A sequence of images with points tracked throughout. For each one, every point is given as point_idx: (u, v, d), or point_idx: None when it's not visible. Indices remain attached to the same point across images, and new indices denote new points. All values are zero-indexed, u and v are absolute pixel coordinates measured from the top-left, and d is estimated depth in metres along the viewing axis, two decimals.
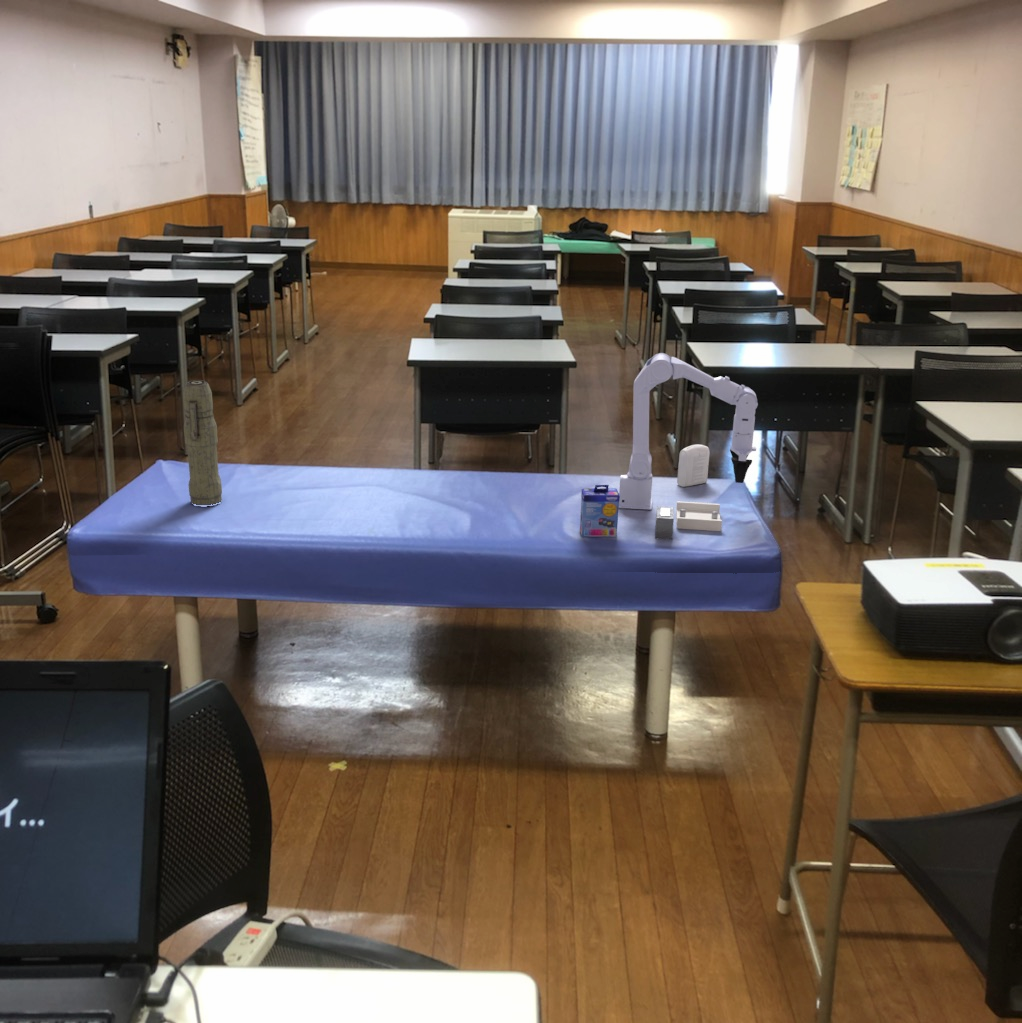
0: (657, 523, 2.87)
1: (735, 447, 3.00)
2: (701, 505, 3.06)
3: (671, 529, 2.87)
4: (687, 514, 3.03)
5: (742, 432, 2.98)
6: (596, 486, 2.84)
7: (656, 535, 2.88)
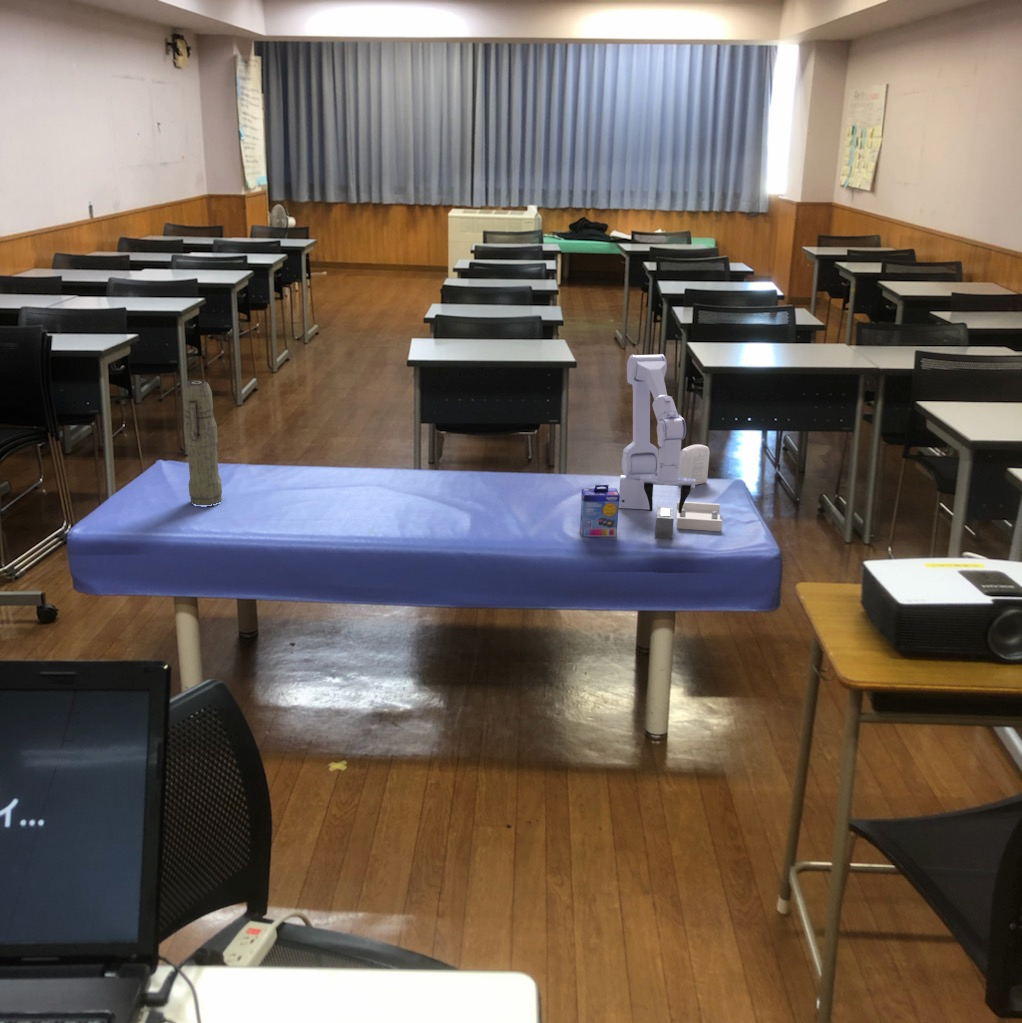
0: (657, 523, 2.87)
1: None
2: (701, 505, 3.06)
3: (671, 529, 2.87)
4: (687, 514, 3.03)
5: (658, 460, 2.85)
6: (596, 486, 2.84)
7: (656, 535, 2.88)
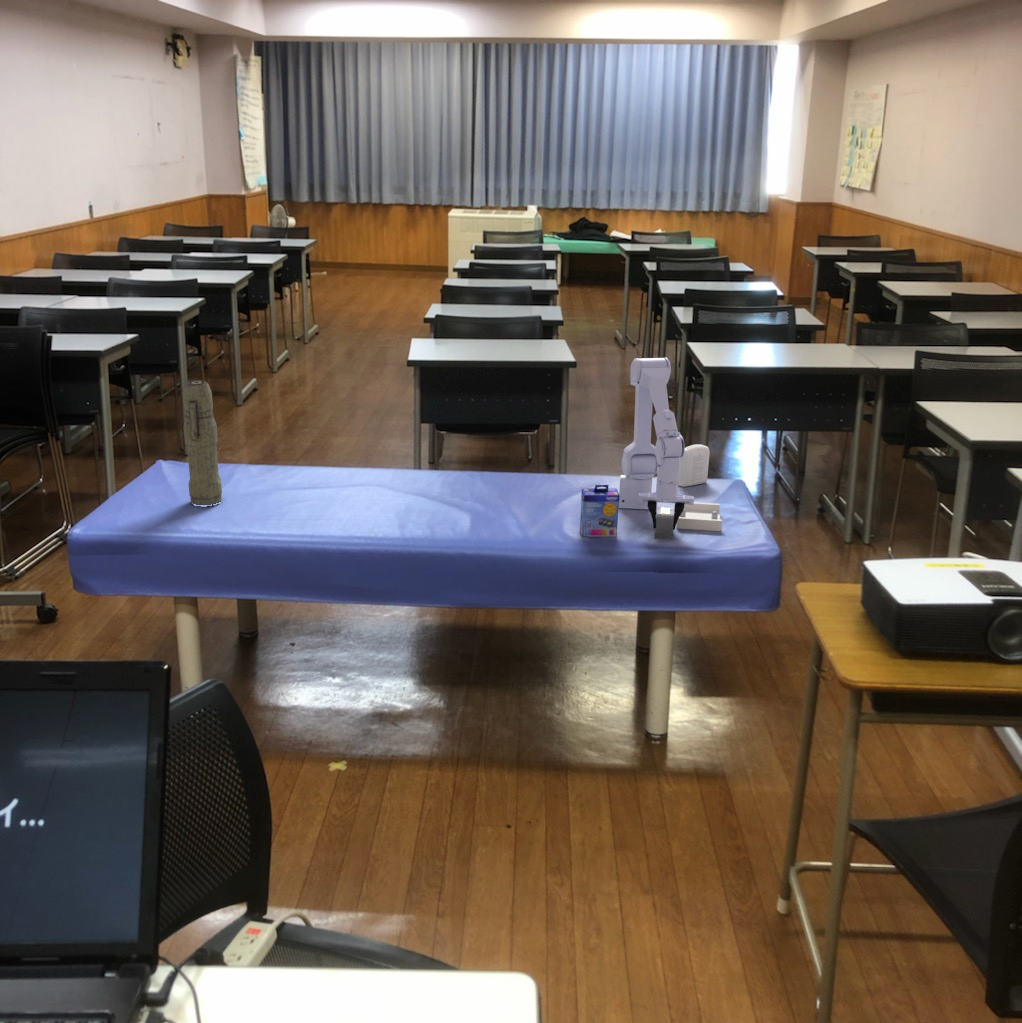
0: (657, 523, 2.86)
1: None
2: (701, 505, 3.06)
3: (671, 529, 2.87)
4: (687, 514, 3.03)
5: (657, 478, 2.86)
6: (596, 486, 2.84)
7: (656, 535, 2.88)
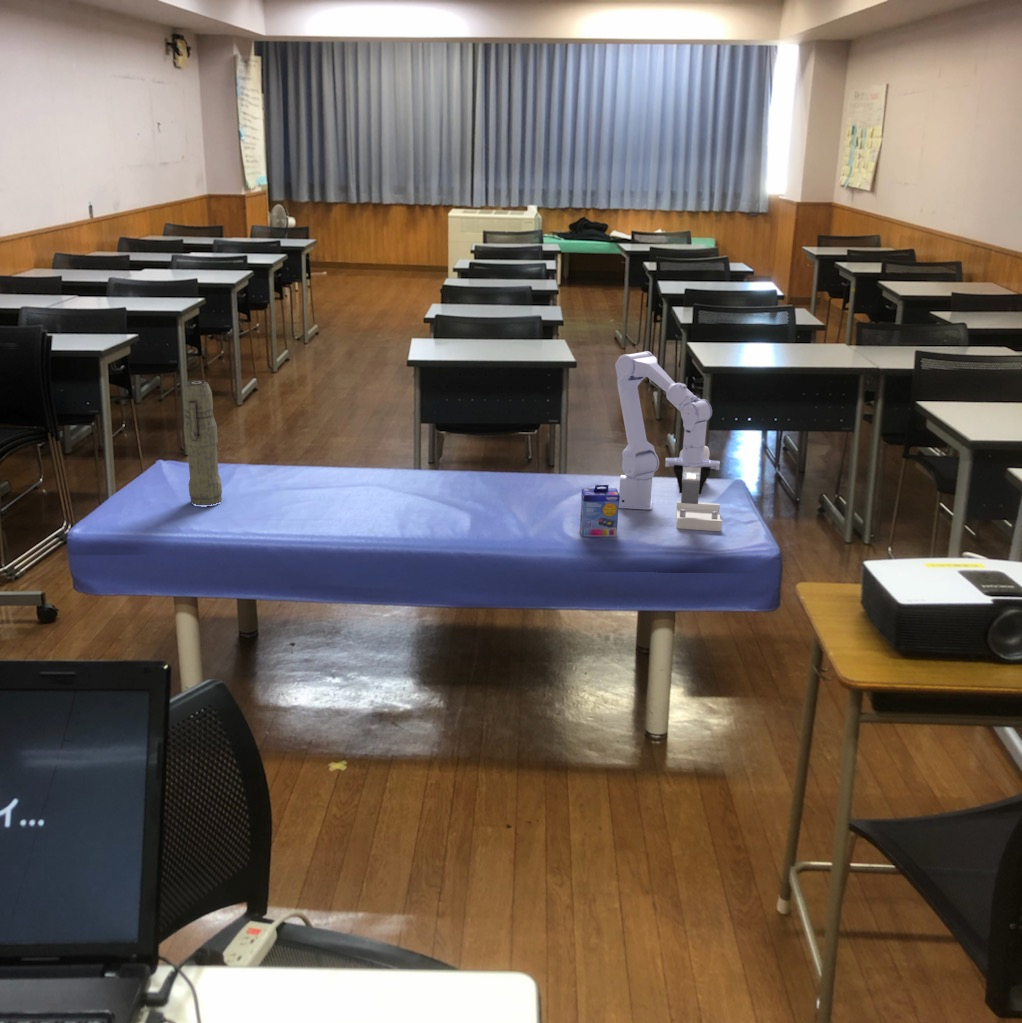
0: (683, 487, 2.90)
1: None
2: (701, 505, 3.06)
3: (697, 493, 2.90)
4: (687, 514, 3.03)
5: (685, 444, 2.89)
6: (596, 486, 2.84)
7: (682, 499, 2.91)
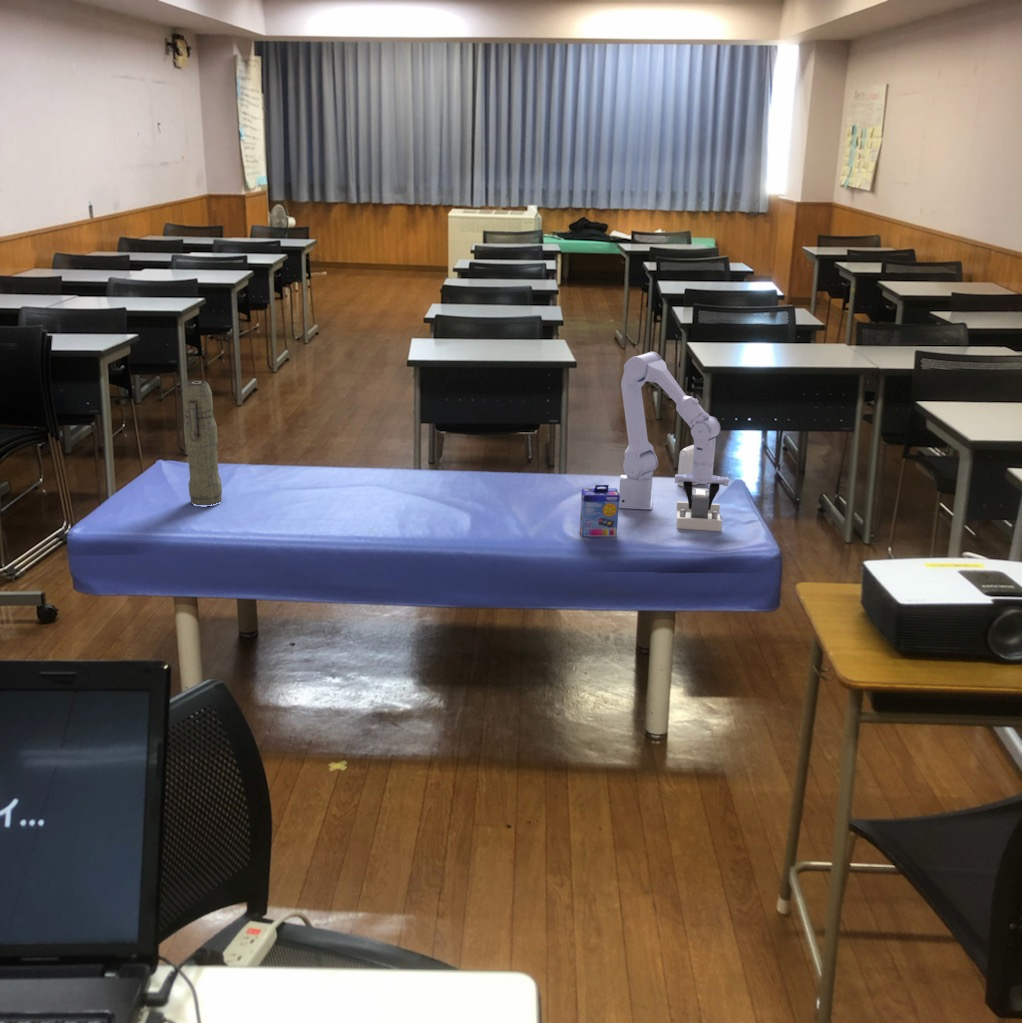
0: (693, 503, 2.95)
1: None
2: None
3: (707, 509, 2.95)
4: (687, 514, 3.03)
5: (697, 461, 2.93)
6: (596, 486, 2.84)
7: (692, 515, 2.96)
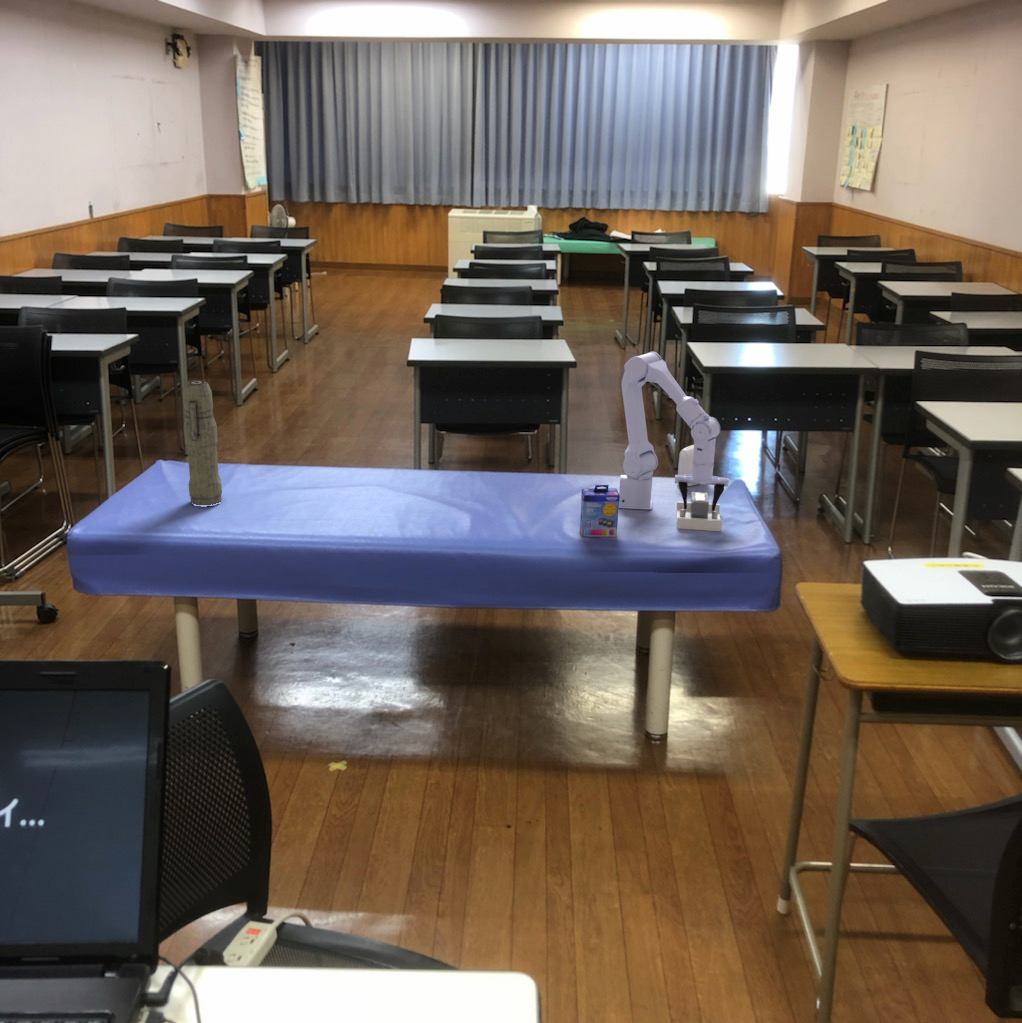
0: (692, 507, 2.95)
1: None
2: None
3: (706, 513, 2.95)
4: (687, 514, 3.03)
5: (697, 462, 2.93)
6: (596, 486, 2.84)
7: None
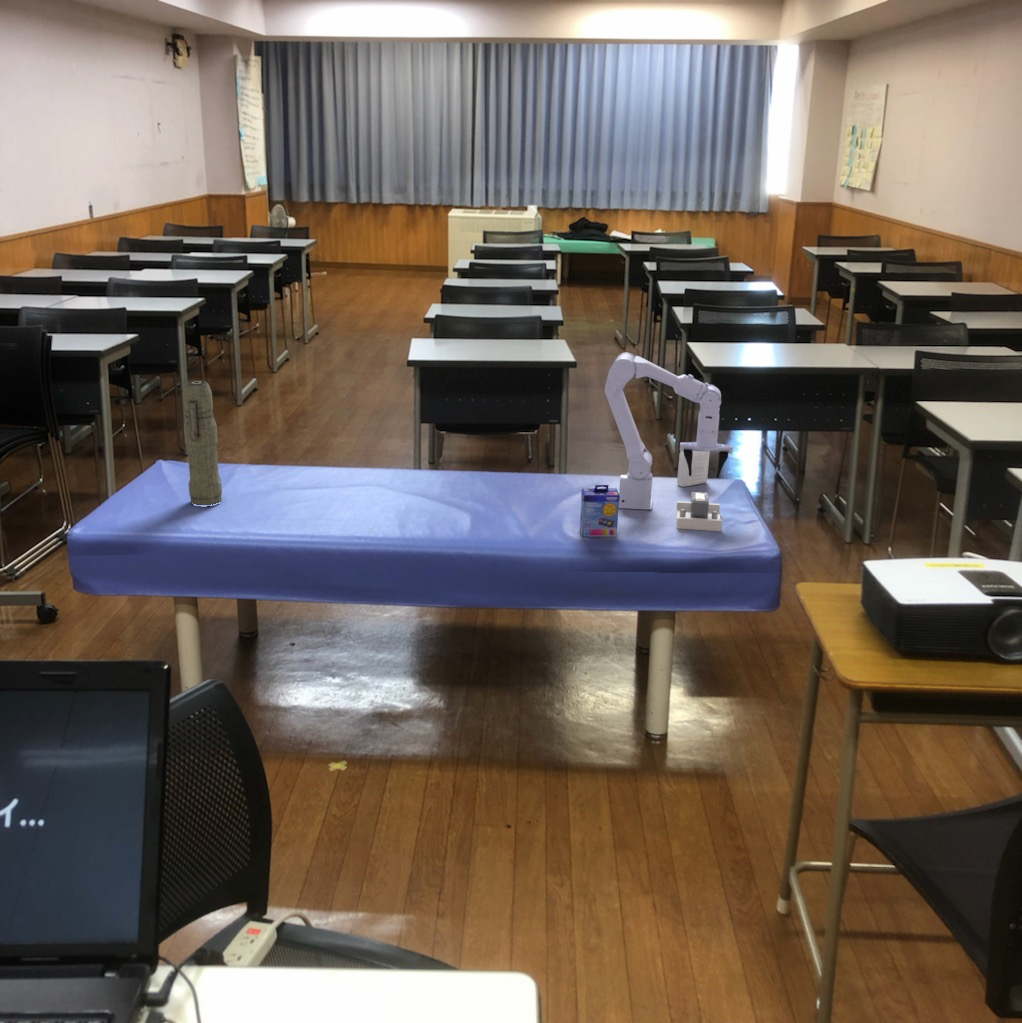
0: (692, 507, 2.95)
1: None
2: None
3: (706, 513, 2.95)
4: (687, 514, 3.03)
5: (706, 430, 2.98)
6: (596, 486, 2.84)
7: None
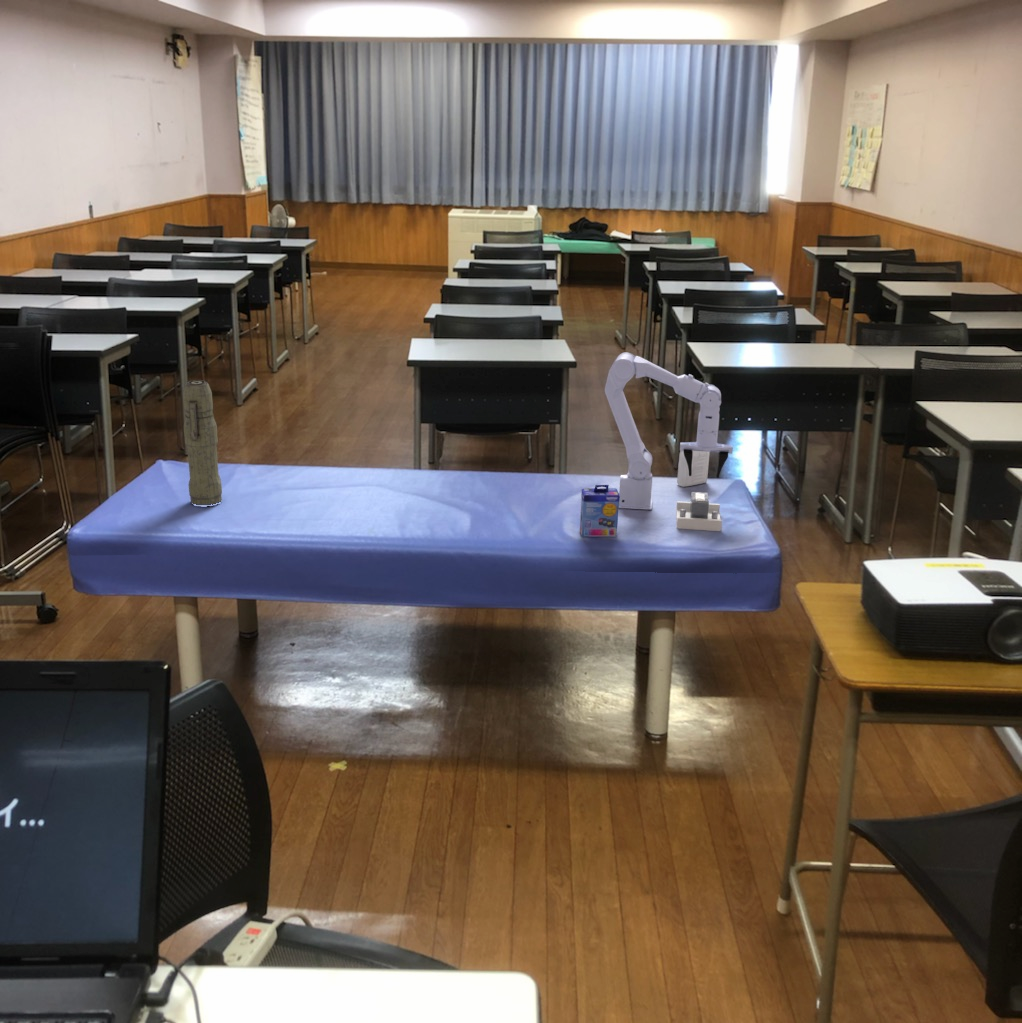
0: (692, 507, 2.95)
1: None
2: None
3: (706, 513, 2.95)
4: (687, 514, 3.03)
5: (706, 430, 2.98)
6: (596, 486, 2.84)
7: None
